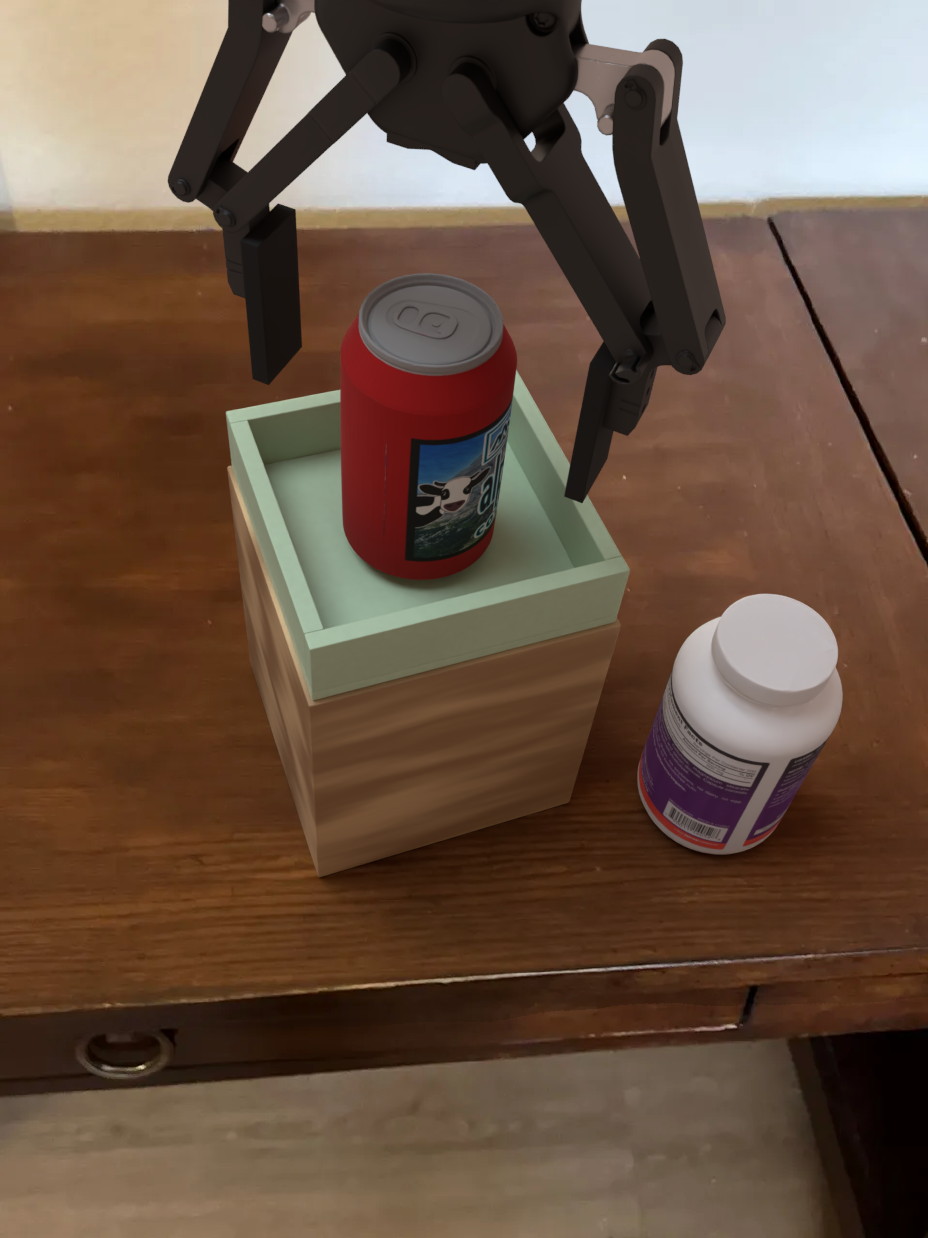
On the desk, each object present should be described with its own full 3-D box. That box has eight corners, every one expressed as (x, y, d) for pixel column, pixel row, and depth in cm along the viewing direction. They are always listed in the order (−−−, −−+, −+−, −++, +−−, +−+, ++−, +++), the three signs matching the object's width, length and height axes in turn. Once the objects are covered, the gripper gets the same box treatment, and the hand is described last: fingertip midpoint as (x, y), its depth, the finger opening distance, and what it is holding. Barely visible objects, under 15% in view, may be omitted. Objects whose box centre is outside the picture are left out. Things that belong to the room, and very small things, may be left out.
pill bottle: (753, 725, 69) (832, 563, 58) (799, 852, 64) (896, 704, 53) (616, 740, 68) (669, 578, 56) (654, 871, 63) (720, 724, 52)
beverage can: (461, 612, 52) (485, 402, 42) (316, 562, 53) (308, 346, 43) (513, 505, 56) (547, 291, 46) (378, 460, 57) (383, 242, 47)
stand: (569, 803, 65) (621, 624, 53) (318, 878, 62) (308, 706, 49) (478, 606, 73) (504, 409, 60) (250, 662, 69) (226, 465, 57)
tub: (615, 622, 53) (630, 570, 50) (312, 701, 49) (309, 649, 46) (502, 412, 60) (509, 356, 57) (231, 468, 56) (225, 411, 54)
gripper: (966, -124, 31) (753, 466, 48) (137, -326, 36) (207, 270, 53) (906, -6, 27) (695, 598, 43) (-27, -255, 32) (106, 370, 49)
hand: (427, 419), depth 48 cm, fingers open, 13 cm apart
